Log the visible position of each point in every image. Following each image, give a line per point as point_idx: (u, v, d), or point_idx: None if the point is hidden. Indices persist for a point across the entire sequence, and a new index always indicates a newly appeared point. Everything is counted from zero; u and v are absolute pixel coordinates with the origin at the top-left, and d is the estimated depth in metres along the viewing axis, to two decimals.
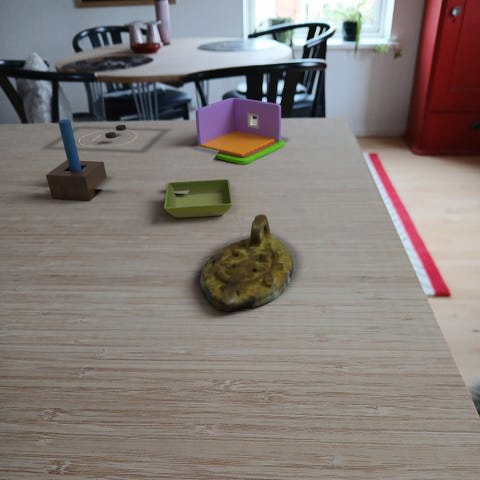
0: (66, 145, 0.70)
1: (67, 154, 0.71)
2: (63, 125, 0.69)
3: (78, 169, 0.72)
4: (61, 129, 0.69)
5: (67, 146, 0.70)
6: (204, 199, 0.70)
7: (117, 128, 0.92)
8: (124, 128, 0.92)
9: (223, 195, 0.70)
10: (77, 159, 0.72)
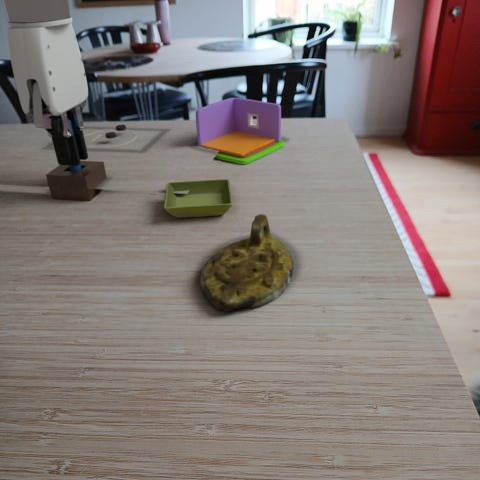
0: None
1: None
2: None
3: (78, 169, 0.72)
4: None
5: None
6: (204, 199, 0.70)
7: (117, 128, 0.92)
8: (124, 128, 0.92)
9: (223, 195, 0.70)
10: None
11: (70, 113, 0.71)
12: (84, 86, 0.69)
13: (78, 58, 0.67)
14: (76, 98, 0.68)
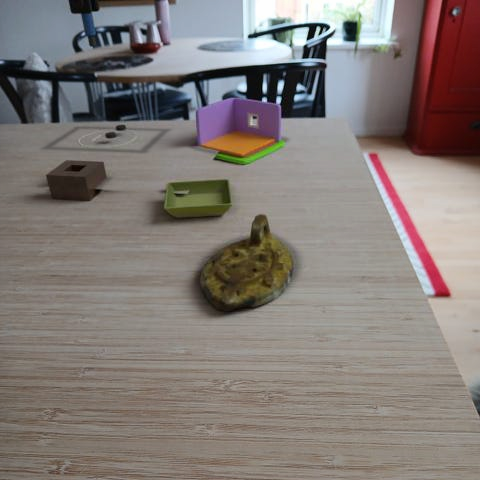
0: None
1: None
2: None
3: (90, 20, 0.76)
4: None
5: None
6: (204, 199, 0.70)
7: (117, 128, 0.92)
8: (124, 128, 0.92)
9: (223, 195, 0.70)
10: None
11: None
12: None
13: None
14: None
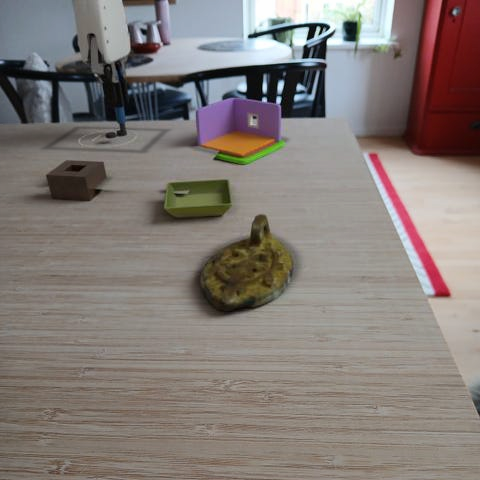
0: None
1: None
2: None
3: (122, 111, 0.90)
4: None
5: None
6: (204, 199, 0.70)
7: (118, 133, 0.92)
8: (125, 133, 0.92)
9: (223, 195, 0.70)
10: None
11: (116, 65, 0.88)
12: (127, 42, 0.87)
13: (124, 19, 0.84)
14: (122, 51, 0.85)
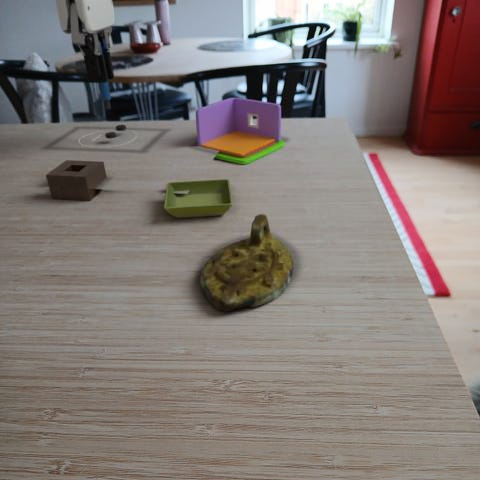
0: None
1: None
2: None
3: (106, 87, 0.84)
4: None
5: None
6: (204, 199, 0.70)
7: (117, 128, 0.92)
8: (124, 128, 0.92)
9: (223, 195, 0.70)
10: None
11: (99, 37, 0.82)
12: (111, 12, 0.81)
13: None
14: (105, 21, 0.79)
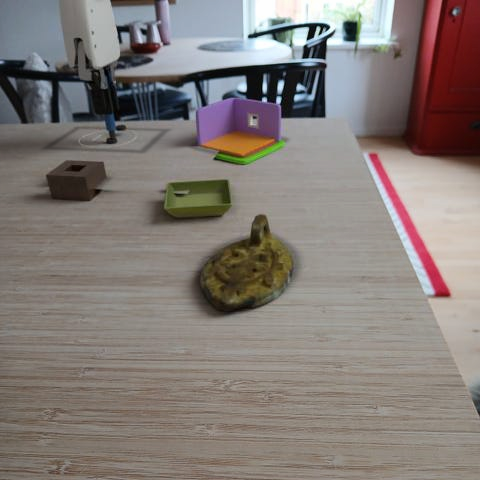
0: None
1: None
2: None
3: (112, 118, 0.87)
4: None
5: None
6: (204, 199, 0.70)
7: (117, 128, 0.92)
8: (124, 128, 0.92)
9: (223, 195, 0.70)
10: None
11: (105, 70, 0.85)
12: (117, 47, 0.83)
13: (113, 23, 0.81)
14: (111, 56, 0.82)
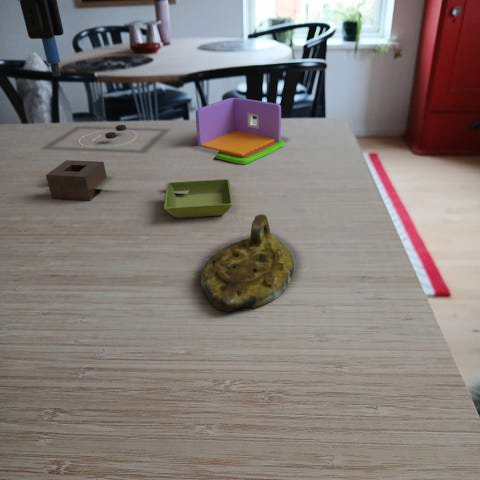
0: None
1: None
2: None
3: (53, 45, 0.64)
4: None
5: None
6: (204, 199, 0.70)
7: (117, 128, 0.92)
8: (124, 128, 0.92)
9: (223, 195, 0.70)
10: None
11: None
12: None
13: None
14: None
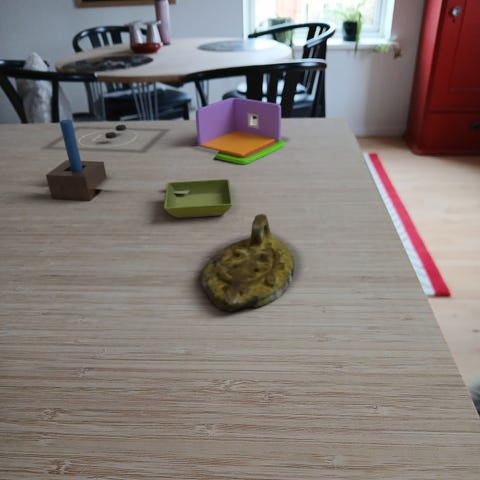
0: (67, 145, 0.70)
1: (68, 154, 0.71)
2: (65, 125, 0.69)
3: (79, 169, 0.72)
4: (62, 129, 0.69)
5: (68, 146, 0.70)
6: (204, 199, 0.70)
7: (117, 128, 0.92)
8: (124, 128, 0.92)
9: (223, 195, 0.70)
10: (78, 159, 0.72)
11: None
12: None
13: None
14: None
